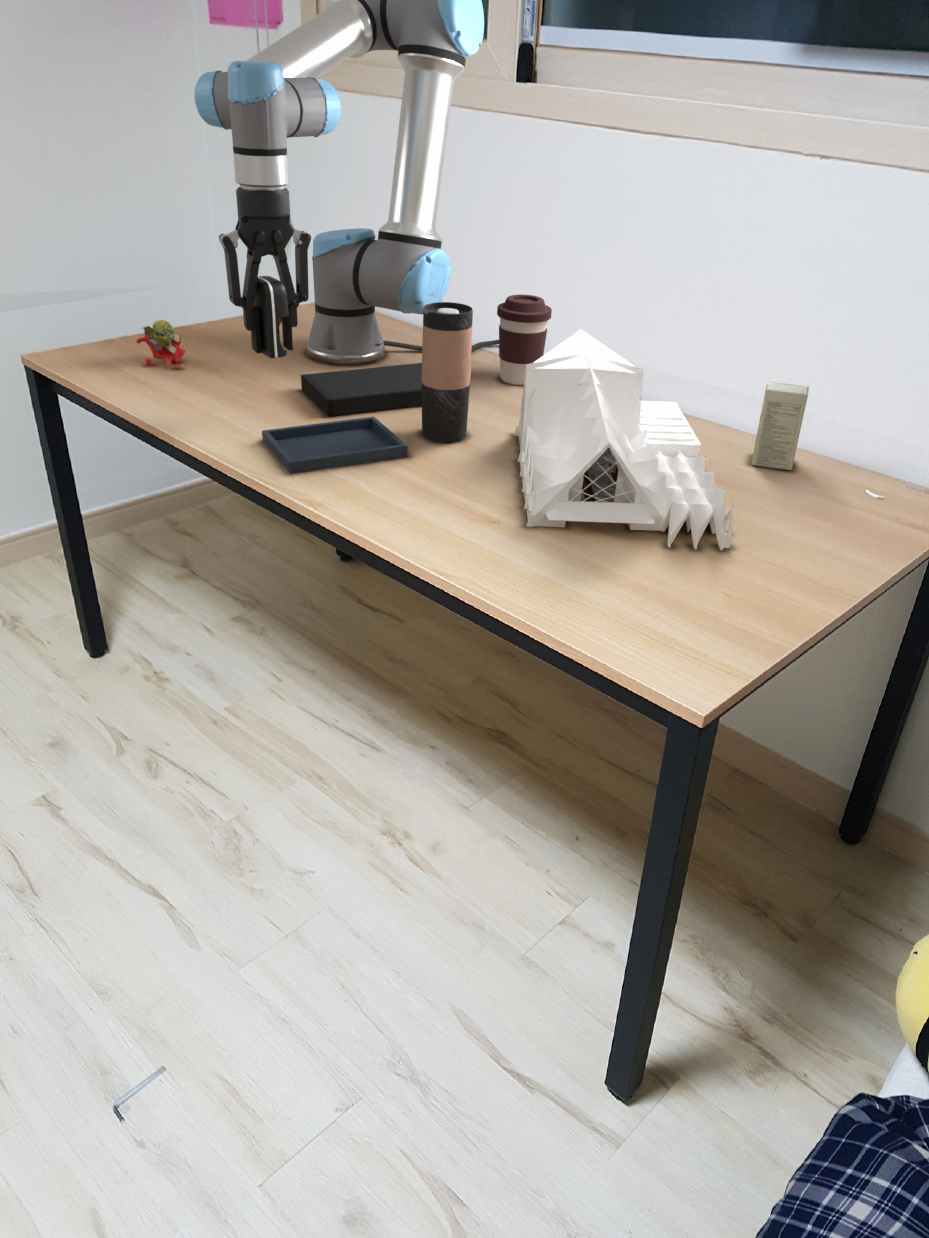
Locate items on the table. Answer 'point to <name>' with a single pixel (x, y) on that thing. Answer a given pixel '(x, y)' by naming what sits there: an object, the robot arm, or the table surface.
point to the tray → (333, 444)
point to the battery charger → (271, 314)
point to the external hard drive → (364, 389)
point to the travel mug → (446, 370)
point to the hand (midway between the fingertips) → (272, 349)
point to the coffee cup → (521, 335)
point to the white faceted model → (638, 440)
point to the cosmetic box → (780, 425)
